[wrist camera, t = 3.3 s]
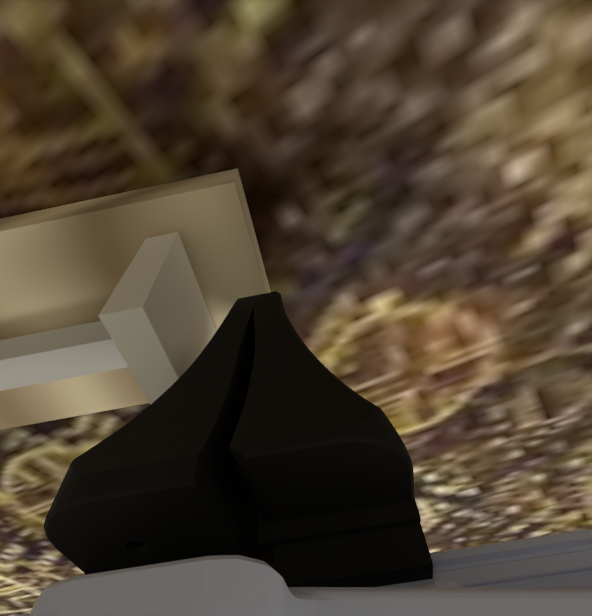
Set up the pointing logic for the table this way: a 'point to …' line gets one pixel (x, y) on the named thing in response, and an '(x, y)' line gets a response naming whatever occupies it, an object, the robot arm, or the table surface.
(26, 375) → the white t-shaped block
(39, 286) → the beige l-shaped stand
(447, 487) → the table surface
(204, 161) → the table surface
